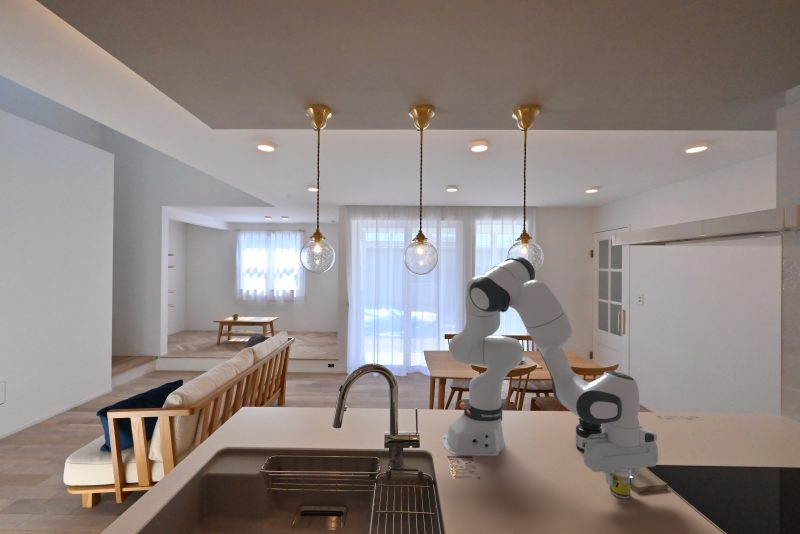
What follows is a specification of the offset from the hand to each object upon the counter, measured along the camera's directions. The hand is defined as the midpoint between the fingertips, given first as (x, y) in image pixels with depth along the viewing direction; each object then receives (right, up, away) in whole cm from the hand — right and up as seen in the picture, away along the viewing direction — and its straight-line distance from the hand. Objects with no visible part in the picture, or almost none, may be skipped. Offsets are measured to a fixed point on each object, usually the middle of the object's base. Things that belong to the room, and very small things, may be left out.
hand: (620, 483), depth 93 cm
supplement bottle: (0, -3, 0) cm, 3 cm away
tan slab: (+9, -4, +6) cm, 12 cm away
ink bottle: (+5, -4, +24) cm, 25 cm away
